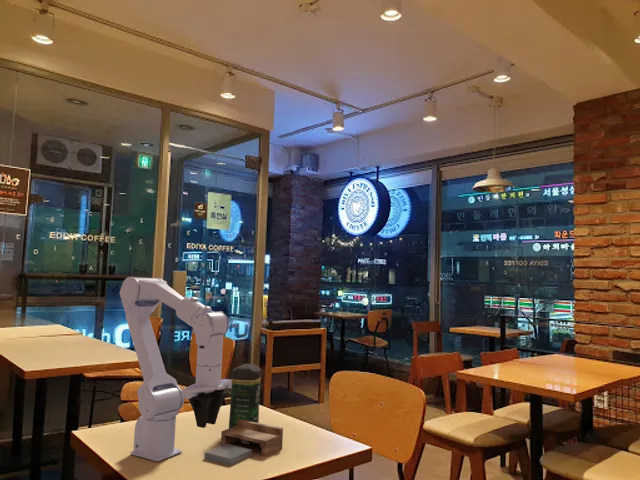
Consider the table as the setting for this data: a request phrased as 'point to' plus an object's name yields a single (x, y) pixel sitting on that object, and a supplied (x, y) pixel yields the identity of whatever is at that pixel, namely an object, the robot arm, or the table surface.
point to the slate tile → (228, 454)
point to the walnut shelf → (255, 435)
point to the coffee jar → (245, 394)
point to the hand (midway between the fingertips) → (206, 425)
